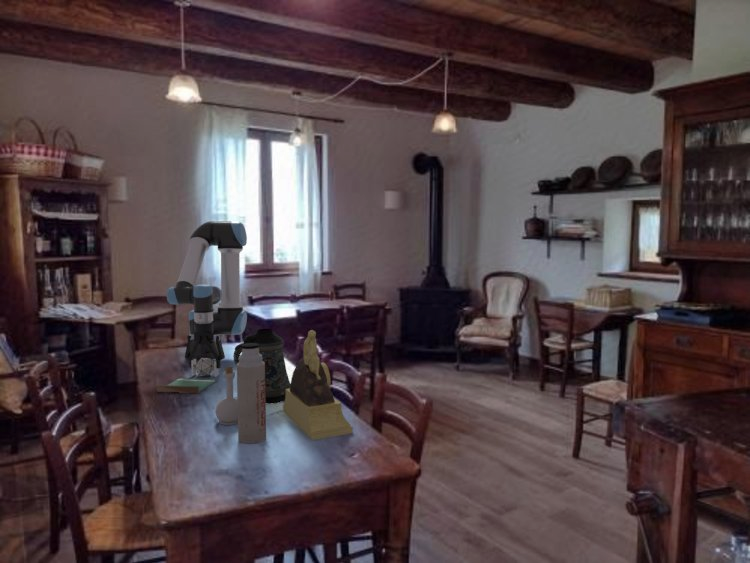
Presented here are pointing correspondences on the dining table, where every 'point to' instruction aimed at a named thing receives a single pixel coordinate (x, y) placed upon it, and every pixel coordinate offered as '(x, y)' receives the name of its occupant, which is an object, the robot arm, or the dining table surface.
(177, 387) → the walnut backstop rail
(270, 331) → the beer stein
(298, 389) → the seated figure statue
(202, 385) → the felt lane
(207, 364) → the game die
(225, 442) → the dining table surface
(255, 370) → the thermos bottle
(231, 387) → the potion bottle
